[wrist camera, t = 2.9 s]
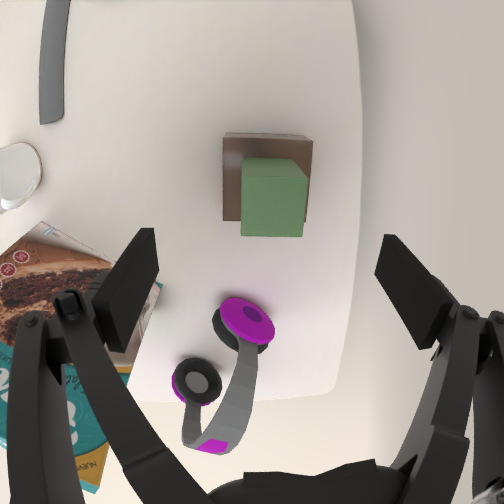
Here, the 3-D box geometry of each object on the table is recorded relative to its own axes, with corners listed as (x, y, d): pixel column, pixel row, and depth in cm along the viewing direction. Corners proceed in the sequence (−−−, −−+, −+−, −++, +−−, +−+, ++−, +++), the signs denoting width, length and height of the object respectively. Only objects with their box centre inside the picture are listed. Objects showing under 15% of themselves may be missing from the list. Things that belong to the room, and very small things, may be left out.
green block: (292, 158, 29) (308, 178, 22) (289, 204, 31) (302, 237, 24) (242, 157, 28) (241, 175, 21) (241, 203, 31) (240, 236, 24)
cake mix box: (162, 284, 41) (99, 487, 15) (150, 311, 44) (94, 494, 18) (41, 221, 36) (-89, 356, 10) (37, 251, 38) (-72, 386, 12)
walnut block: (303, 135, 32) (313, 140, 28) (298, 207, 36) (305, 222, 32) (225, 132, 32) (222, 137, 27) (225, 205, 36) (222, 221, 32)
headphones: (215, 378, 52) (208, 473, 34) (172, 361, 50) (153, 459, 32) (277, 306, 44) (293, 425, 26) (225, 282, 41) (215, 405, 24)
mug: (2, 185, 33) (-40, 209, 23) (11, 132, 29) (-36, 148, 20) (48, 210, 35) (7, 242, 26) (61, 154, 32) (13, 175, 22)
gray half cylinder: (41, 124, 29) (34, 126, 28) (48, 1, 20) (41, -1, 18) (64, 119, 29) (57, 120, 28) (72, -9, 20) (65, -12, 18)
